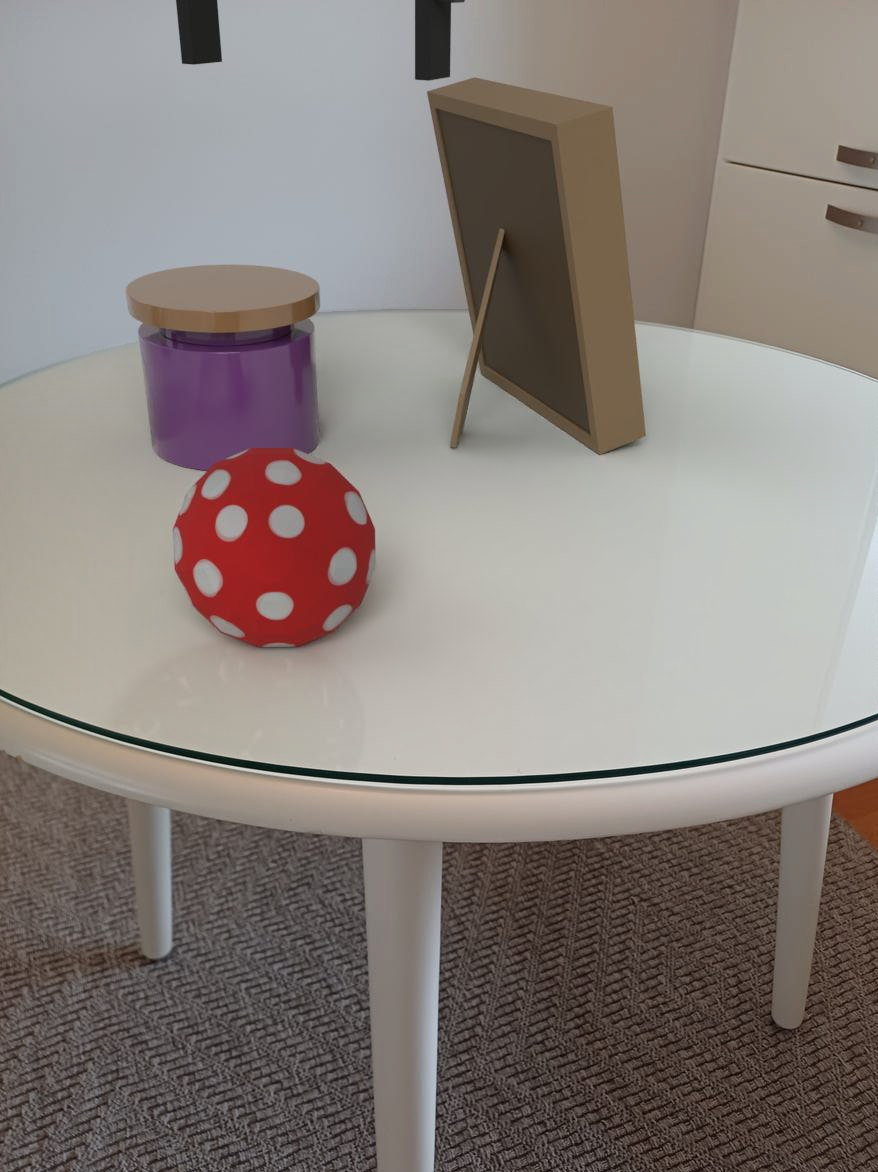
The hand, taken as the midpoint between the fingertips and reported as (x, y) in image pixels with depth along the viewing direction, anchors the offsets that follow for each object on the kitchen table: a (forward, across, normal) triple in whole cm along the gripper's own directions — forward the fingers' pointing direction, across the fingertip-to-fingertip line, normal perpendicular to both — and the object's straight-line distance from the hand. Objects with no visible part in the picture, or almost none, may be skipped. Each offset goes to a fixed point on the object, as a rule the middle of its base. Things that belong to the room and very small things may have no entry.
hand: (313, 71), depth 59 cm
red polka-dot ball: (+28, -2, +8) cm, 29 cm away
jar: (+28, +16, -14) cm, 35 cm away
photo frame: (+28, -1, -29) cm, 40 cm away
